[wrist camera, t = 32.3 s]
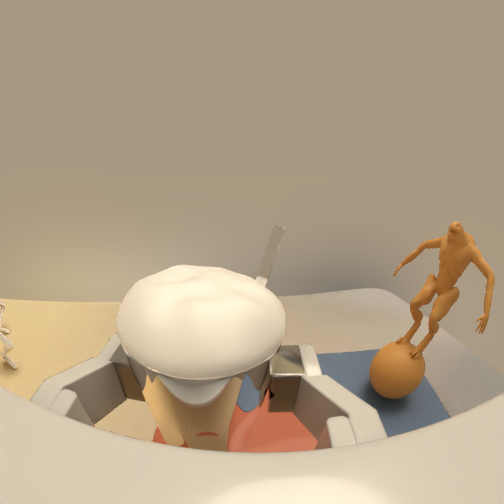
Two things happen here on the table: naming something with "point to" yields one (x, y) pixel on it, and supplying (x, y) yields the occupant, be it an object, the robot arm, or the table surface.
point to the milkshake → (204, 350)
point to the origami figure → (6, 340)
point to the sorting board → (357, 382)
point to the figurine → (402, 351)
